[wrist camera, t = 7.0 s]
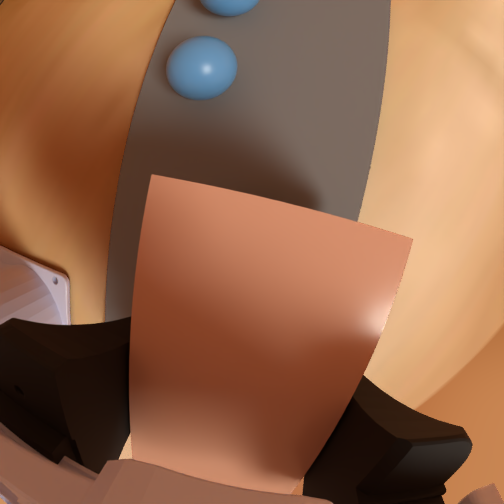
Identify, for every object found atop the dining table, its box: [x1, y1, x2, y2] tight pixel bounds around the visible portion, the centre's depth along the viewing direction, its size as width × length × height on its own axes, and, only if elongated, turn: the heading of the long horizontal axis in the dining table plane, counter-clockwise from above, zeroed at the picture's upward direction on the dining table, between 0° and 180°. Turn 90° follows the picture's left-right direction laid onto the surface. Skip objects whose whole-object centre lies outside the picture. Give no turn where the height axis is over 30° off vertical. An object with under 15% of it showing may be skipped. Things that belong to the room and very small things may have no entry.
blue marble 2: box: [166, 36, 237, 100], centre depth 10 cm, size 3×3×3 cm
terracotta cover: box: [129, 174, 413, 494], centre depth 9 cm, size 5×11×6 cm, turn 167°
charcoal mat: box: [105, 0, 391, 322], centre depth 13 cm, size 12×26×1 cm, turn 167°
